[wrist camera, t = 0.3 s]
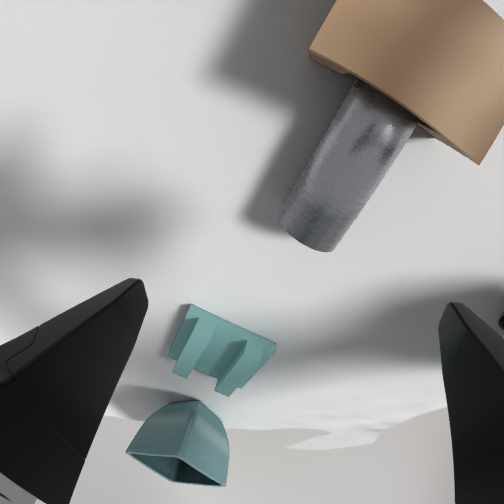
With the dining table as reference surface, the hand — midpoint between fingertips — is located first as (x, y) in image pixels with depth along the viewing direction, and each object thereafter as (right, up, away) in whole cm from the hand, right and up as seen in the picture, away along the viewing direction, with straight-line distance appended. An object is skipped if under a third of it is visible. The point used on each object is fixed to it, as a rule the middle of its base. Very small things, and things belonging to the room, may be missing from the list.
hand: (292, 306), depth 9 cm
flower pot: (-8, -18, +28) cm, 34 cm away
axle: (+5, +9, +9) cm, 14 cm away
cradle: (-4, -7, +20) cm, 22 cm away
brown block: (+8, +13, +6) cm, 16 cm away
